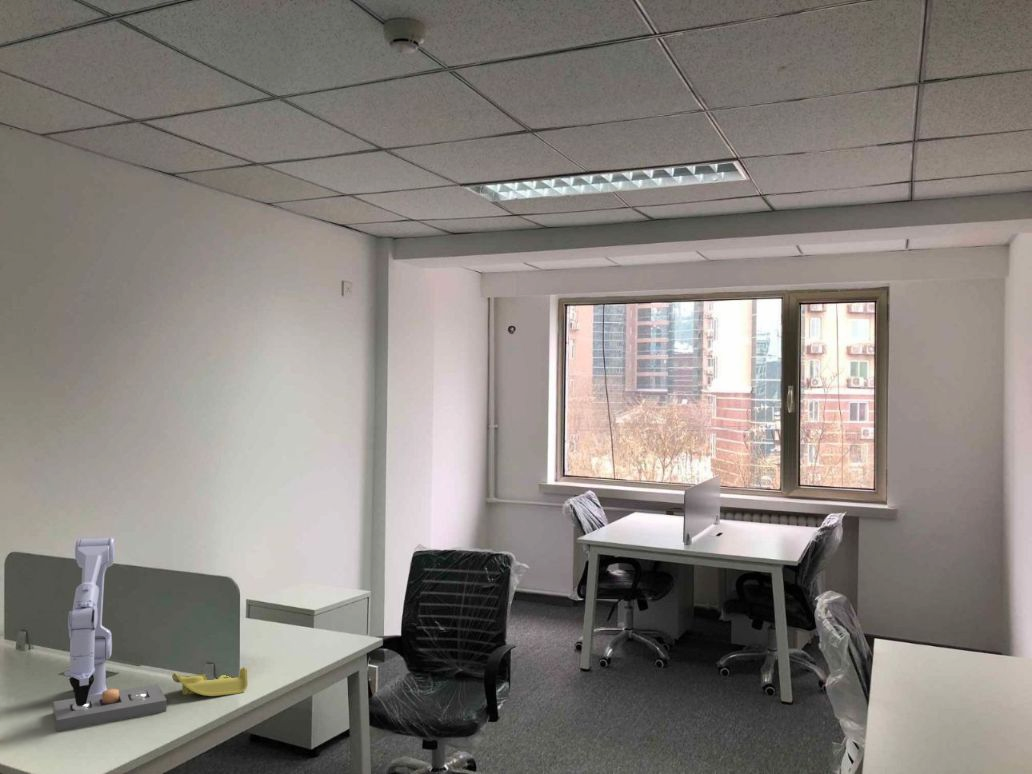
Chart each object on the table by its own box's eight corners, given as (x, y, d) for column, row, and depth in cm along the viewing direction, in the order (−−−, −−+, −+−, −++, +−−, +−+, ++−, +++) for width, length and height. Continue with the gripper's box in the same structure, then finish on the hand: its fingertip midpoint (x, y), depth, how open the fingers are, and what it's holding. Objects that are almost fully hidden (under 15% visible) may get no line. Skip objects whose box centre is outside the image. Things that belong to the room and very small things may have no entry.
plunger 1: (71, 712, 213) (71, 703, 213) (88, 709, 215) (88, 700, 215) (72, 717, 209) (73, 708, 209) (90, 714, 211) (90, 705, 211)
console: (53, 712, 215) (53, 701, 215) (157, 694, 229) (157, 684, 229) (56, 731, 203) (56, 720, 203) (166, 711, 217) (166, 700, 217)
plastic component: (238, 671, 242) (247, 665, 235) (239, 697, 239) (248, 692, 232) (169, 677, 232) (175, 672, 224) (168, 704, 229) (175, 699, 221)
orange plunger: (101, 699, 216) (101, 690, 216) (117, 696, 219) (117, 687, 219) (102, 704, 213) (103, 695, 213) (119, 701, 215) (119, 692, 215)
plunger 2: (129, 701, 220) (129, 693, 220) (145, 699, 222) (145, 690, 222) (131, 706, 217) (131, 697, 217) (147, 703, 219) (147, 695, 219)
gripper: (63, 648, 216) (62, 698, 216) (67, 663, 204) (65, 716, 204) (92, 644, 220) (91, 693, 220) (98, 659, 208) (96, 711, 208)
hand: (81, 704), depth 212 cm, fingers closed, pressing on plunger 1
